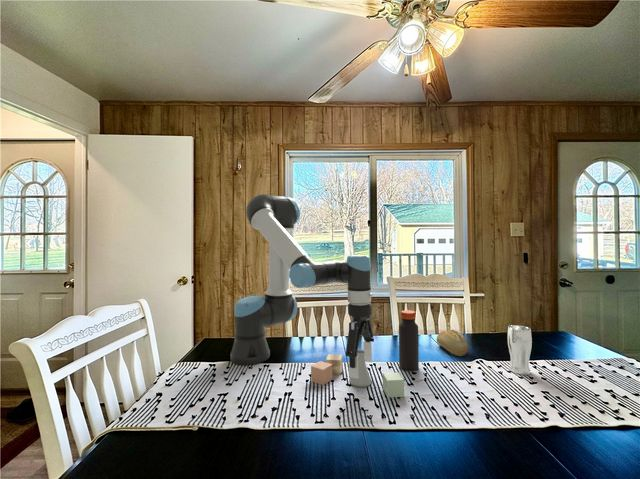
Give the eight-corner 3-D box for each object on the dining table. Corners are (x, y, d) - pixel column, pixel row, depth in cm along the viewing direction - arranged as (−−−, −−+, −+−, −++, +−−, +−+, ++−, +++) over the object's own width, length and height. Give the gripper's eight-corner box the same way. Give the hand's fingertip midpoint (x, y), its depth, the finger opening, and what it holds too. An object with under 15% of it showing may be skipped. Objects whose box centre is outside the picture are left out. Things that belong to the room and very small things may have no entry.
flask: (371, 388, 93) (371, 356, 93) (348, 386, 94) (347, 355, 94) (372, 378, 100) (371, 348, 100) (350, 376, 101) (350, 346, 101)
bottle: (401, 362, 112) (400, 308, 112) (420, 365, 109) (419, 310, 109) (397, 369, 106) (396, 312, 106) (417, 372, 103) (416, 314, 103)
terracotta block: (311, 381, 98) (311, 366, 98) (320, 375, 102) (320, 360, 102) (323, 385, 95) (323, 369, 95) (332, 379, 99) (332, 364, 99)
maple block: (326, 373, 104) (326, 359, 104) (328, 367, 109) (328, 353, 109) (340, 375, 103) (340, 360, 103) (342, 368, 108) (342, 354, 108)
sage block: (387, 397, 88) (387, 380, 88) (382, 389, 93) (382, 372, 93) (404, 396, 88) (404, 379, 88) (398, 388, 93) (398, 372, 93)
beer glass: (528, 368, 106) (527, 325, 106) (535, 376, 99) (534, 331, 99) (505, 365, 108) (505, 324, 108) (510, 374, 102) (510, 329, 101)
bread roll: (450, 343, 132) (450, 325, 132) (475, 356, 117) (474, 336, 117) (431, 345, 130) (430, 327, 130) (453, 358, 115) (453, 338, 115)
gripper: (357, 312, 84) (359, 388, 84) (381, 296, 107) (382, 356, 106) (333, 310, 88) (335, 383, 87) (361, 295, 110) (362, 353, 110)
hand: (361, 368), depth 97 cm, fingers open, 13 cm apart
